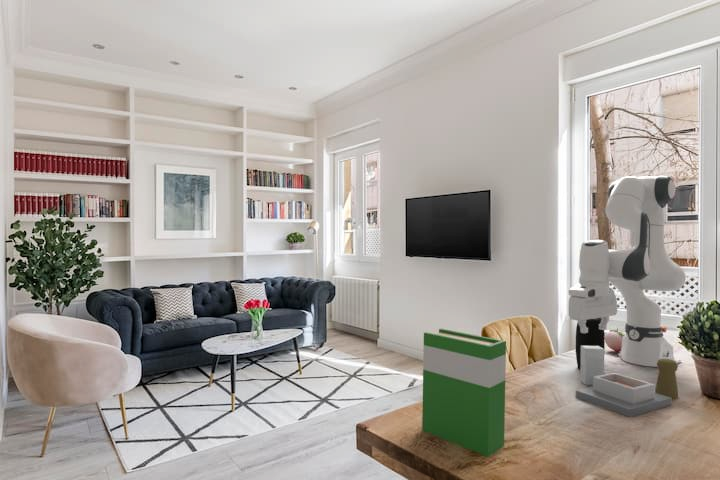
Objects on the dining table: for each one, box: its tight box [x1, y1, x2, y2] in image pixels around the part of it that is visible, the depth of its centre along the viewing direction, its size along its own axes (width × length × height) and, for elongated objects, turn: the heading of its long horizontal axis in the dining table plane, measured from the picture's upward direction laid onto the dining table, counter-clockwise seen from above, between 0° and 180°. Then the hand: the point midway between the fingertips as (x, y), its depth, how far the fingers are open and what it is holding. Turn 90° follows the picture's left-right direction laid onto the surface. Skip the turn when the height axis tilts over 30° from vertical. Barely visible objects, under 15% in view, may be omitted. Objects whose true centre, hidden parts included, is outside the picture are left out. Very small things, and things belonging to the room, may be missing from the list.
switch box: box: [575, 372, 673, 418], centre depth 129 cm, size 20×16×6 cm
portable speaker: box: [575, 317, 606, 370], centre depth 159 cm, size 9×9×20 cm
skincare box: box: [580, 346, 605, 386], centre depth 145 cm, size 6×4×12 cm
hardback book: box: [421, 328, 507, 457], centre depth 104 cm, size 18×7×24 cm, turn 45°
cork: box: [654, 359, 679, 400], centre depth 134 cm, size 6×6×11 cm
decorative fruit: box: [605, 328, 626, 353], centre depth 184 cm, size 9×8×10 cm
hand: (593, 331), depth 145 cm, fingers open, 8 cm apart
